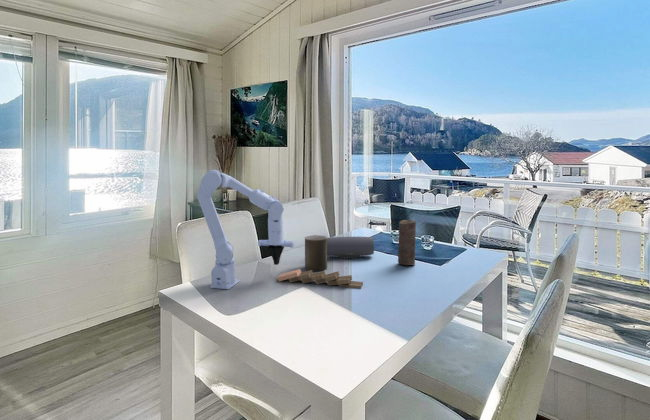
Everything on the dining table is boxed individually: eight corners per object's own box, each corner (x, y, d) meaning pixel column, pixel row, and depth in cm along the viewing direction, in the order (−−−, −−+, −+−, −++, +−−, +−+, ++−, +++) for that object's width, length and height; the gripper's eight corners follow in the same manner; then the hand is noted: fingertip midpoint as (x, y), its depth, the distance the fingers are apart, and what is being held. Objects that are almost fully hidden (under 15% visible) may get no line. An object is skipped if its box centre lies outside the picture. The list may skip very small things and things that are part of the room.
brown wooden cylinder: (410, 268, 162) (411, 222, 158) (394, 265, 166) (395, 221, 163) (417, 263, 168) (419, 220, 164) (402, 261, 172) (403, 218, 169)
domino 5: (327, 285, 143) (349, 283, 140) (327, 281, 143) (348, 279, 140) (331, 281, 147) (352, 279, 144) (330, 277, 147) (351, 275, 144)
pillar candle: (324, 272, 158) (324, 237, 156) (302, 270, 160) (301, 236, 157) (329, 265, 167) (329, 232, 165) (307, 264, 169) (307, 231, 167)
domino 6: (338, 288, 142) (360, 290, 140) (338, 284, 142) (360, 286, 139) (341, 283, 146) (362, 285, 144) (341, 280, 146) (362, 281, 144)
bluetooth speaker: (371, 253, 184) (371, 234, 182) (374, 259, 175) (374, 238, 173) (324, 254, 183) (324, 234, 182) (325, 260, 174) (325, 239, 173)
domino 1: (278, 281, 148) (297, 276, 145) (277, 277, 147) (296, 272, 145) (282, 277, 152) (301, 272, 150) (281, 273, 152) (300, 268, 150)
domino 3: (302, 283, 145) (322, 278, 143) (301, 279, 145) (321, 274, 143) (306, 279, 150) (325, 274, 147) (304, 275, 149) (324, 270, 147)
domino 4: (316, 284, 144) (336, 278, 141) (315, 280, 144) (335, 275, 141) (320, 280, 148) (339, 275, 146) (318, 276, 148) (338, 271, 146)
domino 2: (289, 282, 147) (309, 277, 144) (288, 278, 146) (308, 273, 144) (293, 278, 151) (312, 273, 149) (292, 274, 151) (311, 269, 148)
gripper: (296, 229, 149) (297, 262, 151) (262, 227, 152) (263, 259, 155) (290, 233, 142) (291, 267, 144) (255, 231, 146) (256, 265, 148)
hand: (276, 263), depth 149 cm, fingers closed
